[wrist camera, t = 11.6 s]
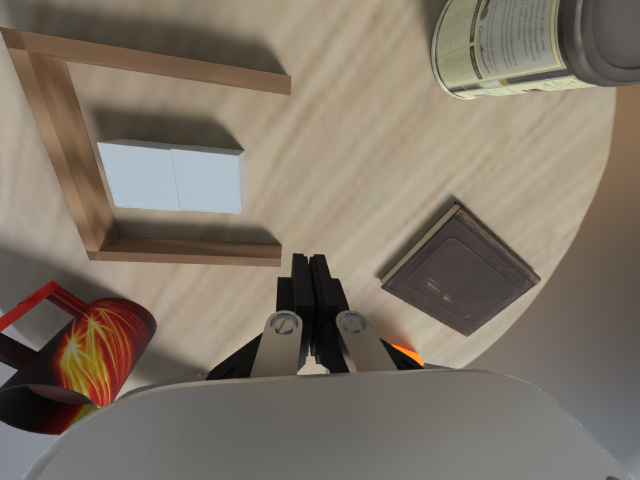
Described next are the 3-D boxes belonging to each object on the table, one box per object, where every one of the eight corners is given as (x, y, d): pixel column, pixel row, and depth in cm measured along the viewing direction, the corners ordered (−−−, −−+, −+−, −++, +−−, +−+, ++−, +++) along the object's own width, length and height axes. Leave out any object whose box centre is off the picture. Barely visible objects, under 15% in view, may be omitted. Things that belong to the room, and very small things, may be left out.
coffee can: (525, -61, 21) (883, -326, 8) (531, 67, 25) (763, 21, 13) (416, 10, 22) (582, -124, 10) (442, 118, 27) (574, 121, 14)
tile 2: (193, 198, 28) (180, 211, 24) (138, 194, 27) (115, 206, 23) (187, 145, 25) (170, 150, 22) (124, 138, 24) (96, 142, 21)
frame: (281, 252, 32) (280, 266, 29) (110, 244, 29) (89, 260, 26) (290, 81, 23) (291, 76, 20) (43, 40, 20) (-2, 26, 17)
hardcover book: (459, 327, 46) (467, 337, 44) (376, 279, 38) (381, 288, 36) (531, 271, 41) (543, 279, 39) (453, 200, 32) (464, 205, 30)
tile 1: (246, 201, 29) (240, 213, 25) (194, 197, 28) (180, 209, 24) (245, 150, 26) (238, 155, 22) (187, 144, 25) (170, 148, 22)
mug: (57, 273, 30) (-68, 358, 20) (167, 314, 35) (115, 398, 25) (39, 320, 33) (-78, 415, 22) (143, 351, 38) (88, 440, 28)
